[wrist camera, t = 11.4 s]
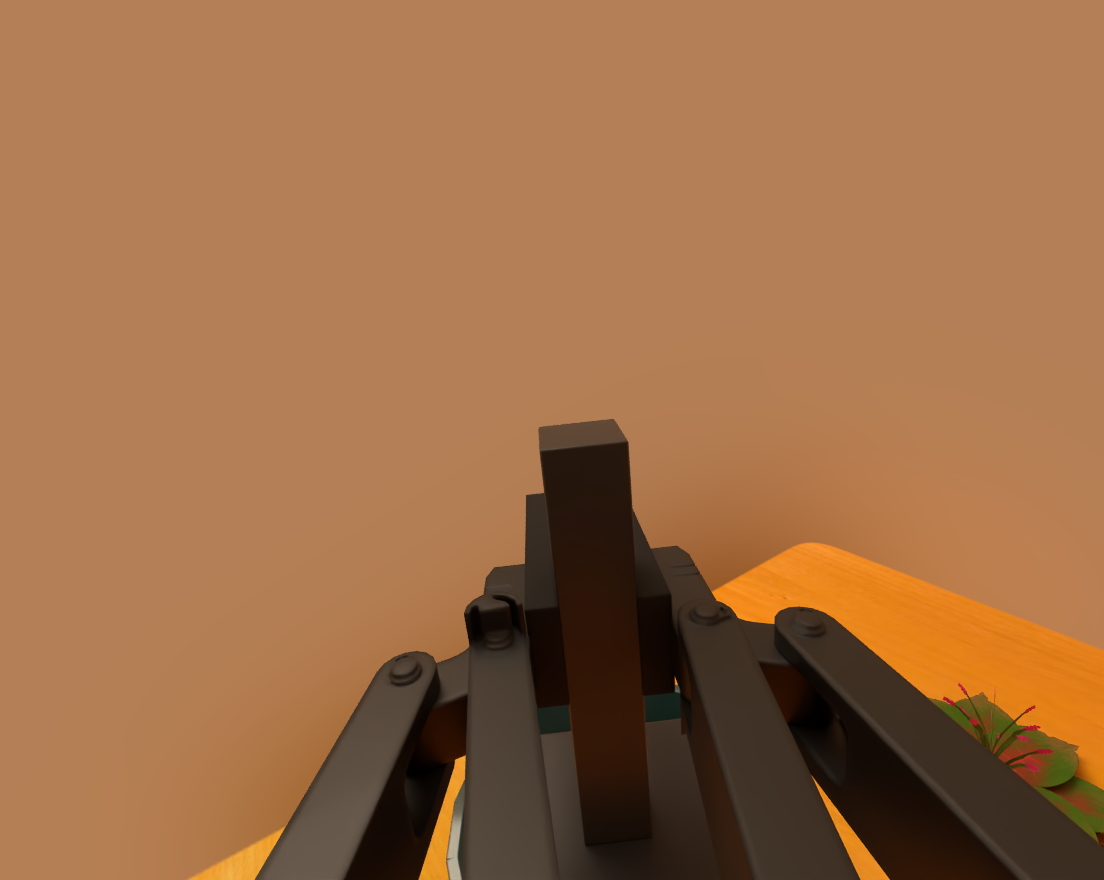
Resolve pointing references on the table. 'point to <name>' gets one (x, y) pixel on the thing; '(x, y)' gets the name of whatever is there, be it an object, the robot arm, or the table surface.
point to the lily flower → (1032, 758)
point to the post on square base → (610, 684)
